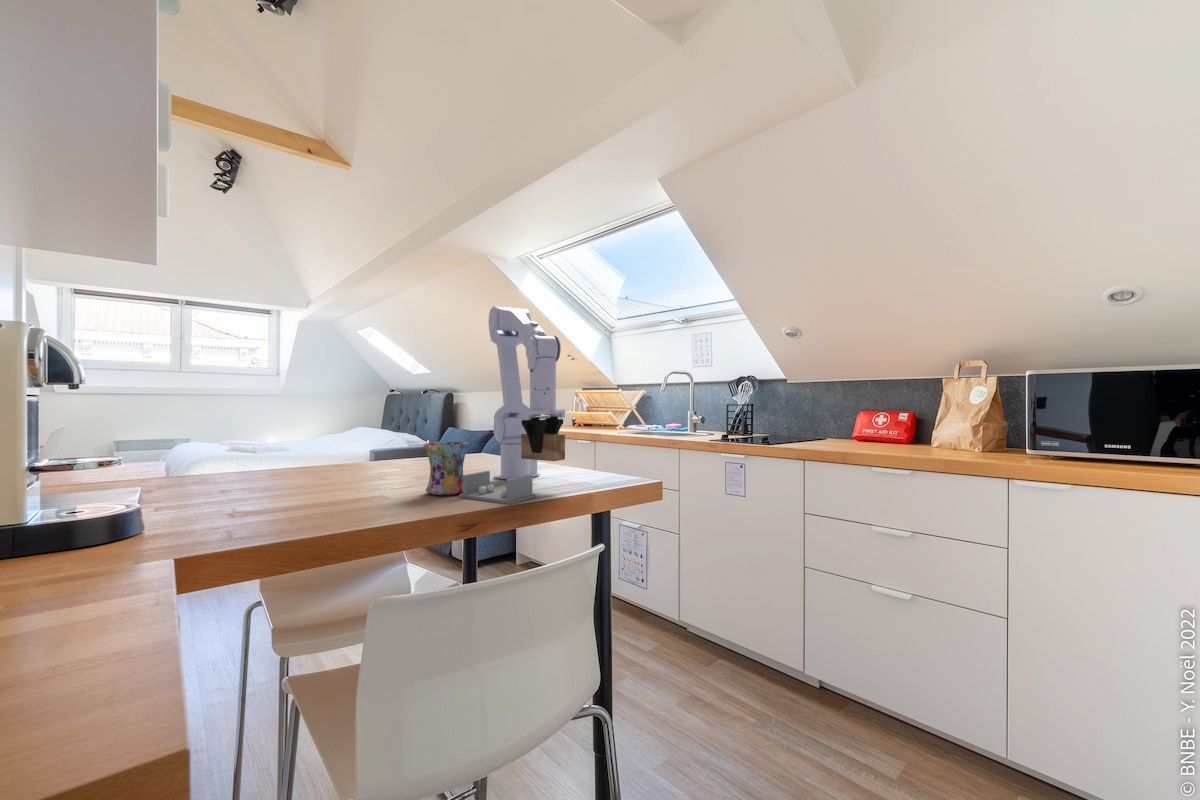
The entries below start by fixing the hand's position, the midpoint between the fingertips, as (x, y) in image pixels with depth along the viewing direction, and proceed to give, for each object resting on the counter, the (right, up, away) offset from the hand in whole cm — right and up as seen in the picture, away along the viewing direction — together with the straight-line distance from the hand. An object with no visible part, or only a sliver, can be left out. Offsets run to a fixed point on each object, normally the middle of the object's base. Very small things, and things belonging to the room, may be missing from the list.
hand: (542, 451), depth 114 cm
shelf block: (0, -2, 0) cm, 2 cm away
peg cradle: (-8, -9, -8) cm, 15 cm away
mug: (-20, -9, -3) cm, 22 cm away
